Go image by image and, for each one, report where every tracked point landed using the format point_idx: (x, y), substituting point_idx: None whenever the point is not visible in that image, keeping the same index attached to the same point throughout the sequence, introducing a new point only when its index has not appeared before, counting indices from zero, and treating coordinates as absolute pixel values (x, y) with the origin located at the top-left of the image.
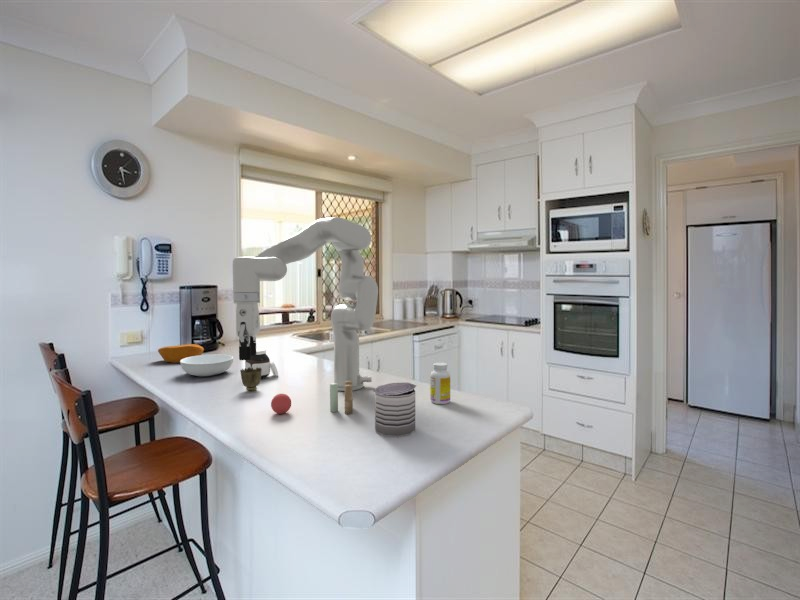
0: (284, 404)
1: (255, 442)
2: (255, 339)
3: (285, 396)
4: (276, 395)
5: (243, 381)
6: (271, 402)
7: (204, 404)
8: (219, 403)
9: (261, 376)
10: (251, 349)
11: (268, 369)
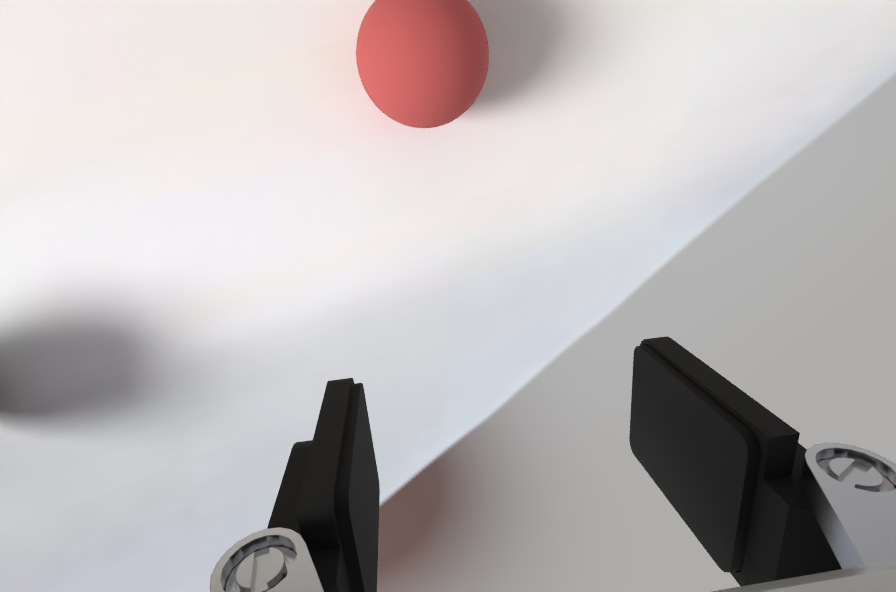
0: (479, 18)
1: (807, 92)
2: (224, 588)
3: (446, 8)
4: (436, 84)
5: None
6: (451, 119)
7: None
8: (255, 454)
9: None
10: (367, 475)
11: None
